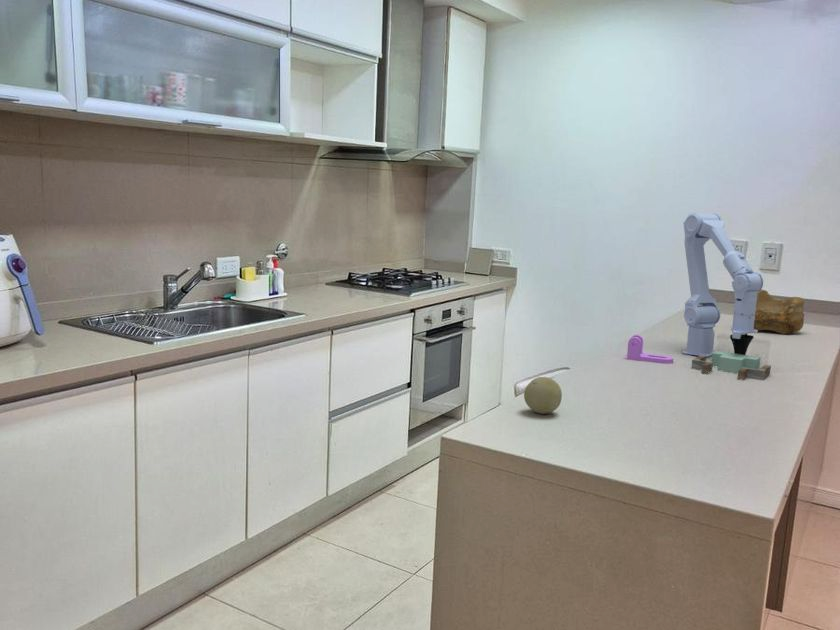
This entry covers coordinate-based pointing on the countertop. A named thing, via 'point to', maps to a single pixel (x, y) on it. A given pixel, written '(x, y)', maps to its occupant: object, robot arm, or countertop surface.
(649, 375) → the countertop surface
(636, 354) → the bracket
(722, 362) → the t slider
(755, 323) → the rough brown rock
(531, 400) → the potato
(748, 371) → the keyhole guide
